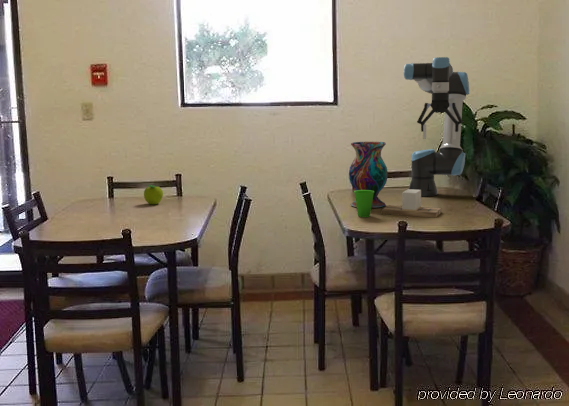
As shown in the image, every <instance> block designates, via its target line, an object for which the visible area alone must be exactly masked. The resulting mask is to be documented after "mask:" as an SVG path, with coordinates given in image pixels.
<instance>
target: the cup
mask: <svg viewBox="0 0 569 406" xmlns="http://www.w3.org/2000/svg"><path fill="white" fill-rule="evenodd" d="M353 193H354V198H355V199H354V200H355V201H356V205H357V207H356V211H357V216H358V217H359V218H370V217H371V212H372V208H371V206H372V200H373V194H374V191H372V190H354V191H353Z"/></svg>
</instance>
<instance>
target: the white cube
mask: <svg viewBox="0 0 569 406" xmlns="http://www.w3.org/2000/svg"><path fill="white" fill-rule="evenodd" d="M401 199H402V201H401V204H402V205H401V206H402V210H403V211H417V210H418V209H419V208H421V207H422V196H421V190H414V189H406V190H404V191H402V195H401Z"/></svg>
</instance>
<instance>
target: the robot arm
mask: <svg viewBox="0 0 569 406" xmlns="http://www.w3.org/2000/svg"><path fill="white" fill-rule="evenodd" d="M403 77H404V79H405V80H407V81H408V80H410V81H414V82H416V83H417V85H418V87H419V89H420V90H422V91H423V92H425V93H428V94H430V95H431V102H430V103H428V102H425V103H424V105H423V106H424V107H423V110H422V111H421V113H420V115H419V117H418V119H417V121H416V123H417V124H420V131H421V132H423V133H422V134H423V135H422V139H423V140H426V139H427V124H426V123H427V121H428V120H429V119H430V118H431V117H432V116H433V114H435V113H436V114H439V113H440V114H444V119H443V134H442V135H443V137H442V145H441V147H439V150H438V151H436V149H434V148H431V149H421V150H415V151H413V152H412V154H411V160H410V161H411V177H410V178H411V181H410V184H409V186H408V189H414V190H421V197H432V196H433V197H434V196H437V195H438V188H437V185H436V181H435V176H460V175H462V174H463V170H464V168H465V163H466V153H465V152H464V151H463V148H462V147H461V135H462V134H461V133H462V123H463V122H464V121H463V119H462V117H463V115H462V114H463V103H464V101H465V100H466V99H467V96H468V95H470V83H469V76H468V73H467V72H466V71H454V68H453V66H452V64H451V63H450V57H447V56H442V57H439V56H438V57H433V59H432V62H425V63H424V62H423V63H422V62H420V63H419V62H418V63H415V62H414V63H413V62H410V63H406V64H404V67H403ZM429 108H431V110H430V112H429V113H428V114H427V115H426V112H427V111H428V109H429ZM425 115H426V116H425ZM424 117H425V118H424ZM423 118H424V119H423Z"/></svg>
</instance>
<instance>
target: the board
mask: <svg viewBox="0 0 569 406" xmlns="http://www.w3.org/2000/svg"><path fill="white" fill-rule="evenodd" d="M441 213H442V207H429V206H428V207H425V206H421V208H419V209H418V210H417V211H403V210H402V205H393V204H392V205H390V204H388V205H387V206H384V208H382V209H381V215H388V214H391V216H404V217H405V216H408V217H424V218H425V217H426V218H437V217H439V215H440V214H441Z"/></svg>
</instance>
